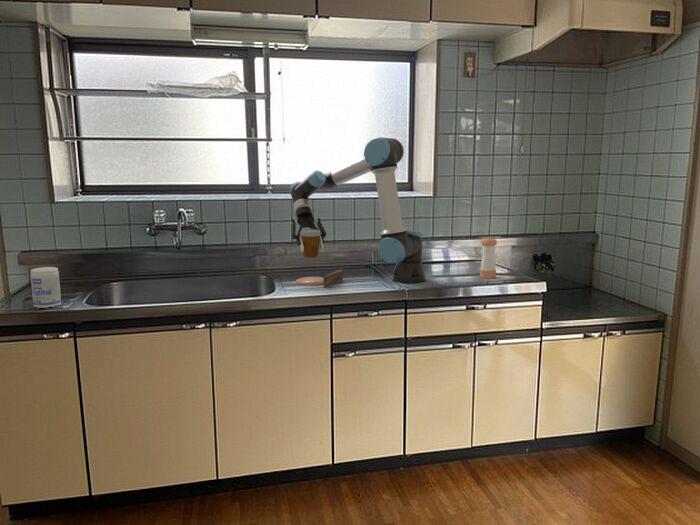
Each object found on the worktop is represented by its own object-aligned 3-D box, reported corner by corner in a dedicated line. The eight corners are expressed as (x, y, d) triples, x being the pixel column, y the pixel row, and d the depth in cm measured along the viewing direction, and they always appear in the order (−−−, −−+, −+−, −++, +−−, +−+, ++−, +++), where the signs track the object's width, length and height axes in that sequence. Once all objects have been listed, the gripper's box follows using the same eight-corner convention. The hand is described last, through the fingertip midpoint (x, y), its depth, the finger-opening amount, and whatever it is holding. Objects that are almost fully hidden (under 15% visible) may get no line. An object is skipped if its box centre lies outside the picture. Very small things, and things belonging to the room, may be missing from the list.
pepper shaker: (486, 279, 256) (488, 238, 253) (476, 276, 263) (478, 236, 259) (498, 277, 259) (500, 237, 255) (489, 274, 266) (490, 235, 262)
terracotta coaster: (334, 279, 256) (334, 278, 256) (318, 286, 243) (318, 285, 243) (306, 277, 263) (306, 275, 263) (289, 283, 249) (289, 282, 249)
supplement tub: (32, 310, 208) (27, 272, 205) (35, 304, 216) (30, 267, 213) (61, 307, 212) (57, 270, 209) (62, 301, 220) (58, 265, 217)
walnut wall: (342, 280, 255) (342, 269, 254) (326, 287, 241) (326, 276, 240) (340, 280, 256) (339, 269, 255) (323, 287, 241) (323, 276, 240)
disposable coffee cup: (322, 255, 255) (322, 229, 253) (319, 258, 246) (319, 232, 244) (302, 254, 256) (302, 228, 254) (298, 258, 247) (298, 231, 244)
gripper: (323, 215, 265) (333, 253, 254) (279, 216, 258) (288, 256, 247) (326, 205, 259) (337, 243, 248) (282, 206, 252) (290, 246, 241)
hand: (312, 249), depth 247 cm, fingers closed on disposable coffee cup, 8 cm apart
